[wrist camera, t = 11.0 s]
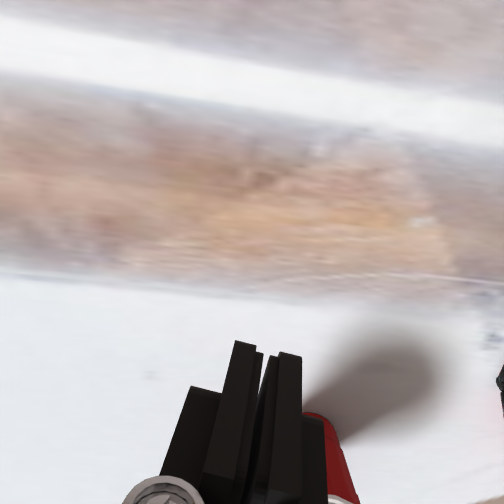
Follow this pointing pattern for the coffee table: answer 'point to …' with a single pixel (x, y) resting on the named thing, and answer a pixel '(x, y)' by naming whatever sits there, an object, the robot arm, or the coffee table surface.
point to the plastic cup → (336, 469)
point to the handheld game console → (501, 386)
